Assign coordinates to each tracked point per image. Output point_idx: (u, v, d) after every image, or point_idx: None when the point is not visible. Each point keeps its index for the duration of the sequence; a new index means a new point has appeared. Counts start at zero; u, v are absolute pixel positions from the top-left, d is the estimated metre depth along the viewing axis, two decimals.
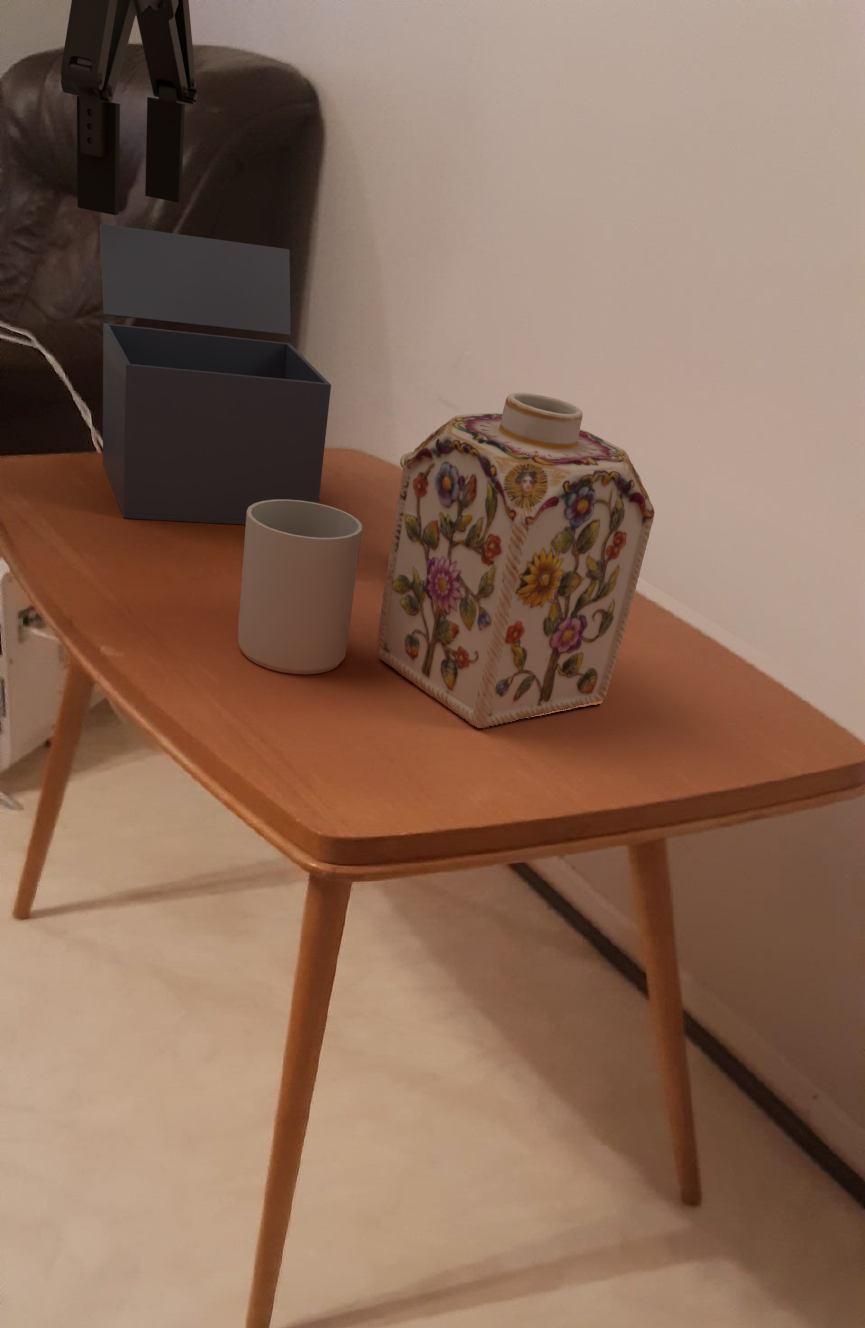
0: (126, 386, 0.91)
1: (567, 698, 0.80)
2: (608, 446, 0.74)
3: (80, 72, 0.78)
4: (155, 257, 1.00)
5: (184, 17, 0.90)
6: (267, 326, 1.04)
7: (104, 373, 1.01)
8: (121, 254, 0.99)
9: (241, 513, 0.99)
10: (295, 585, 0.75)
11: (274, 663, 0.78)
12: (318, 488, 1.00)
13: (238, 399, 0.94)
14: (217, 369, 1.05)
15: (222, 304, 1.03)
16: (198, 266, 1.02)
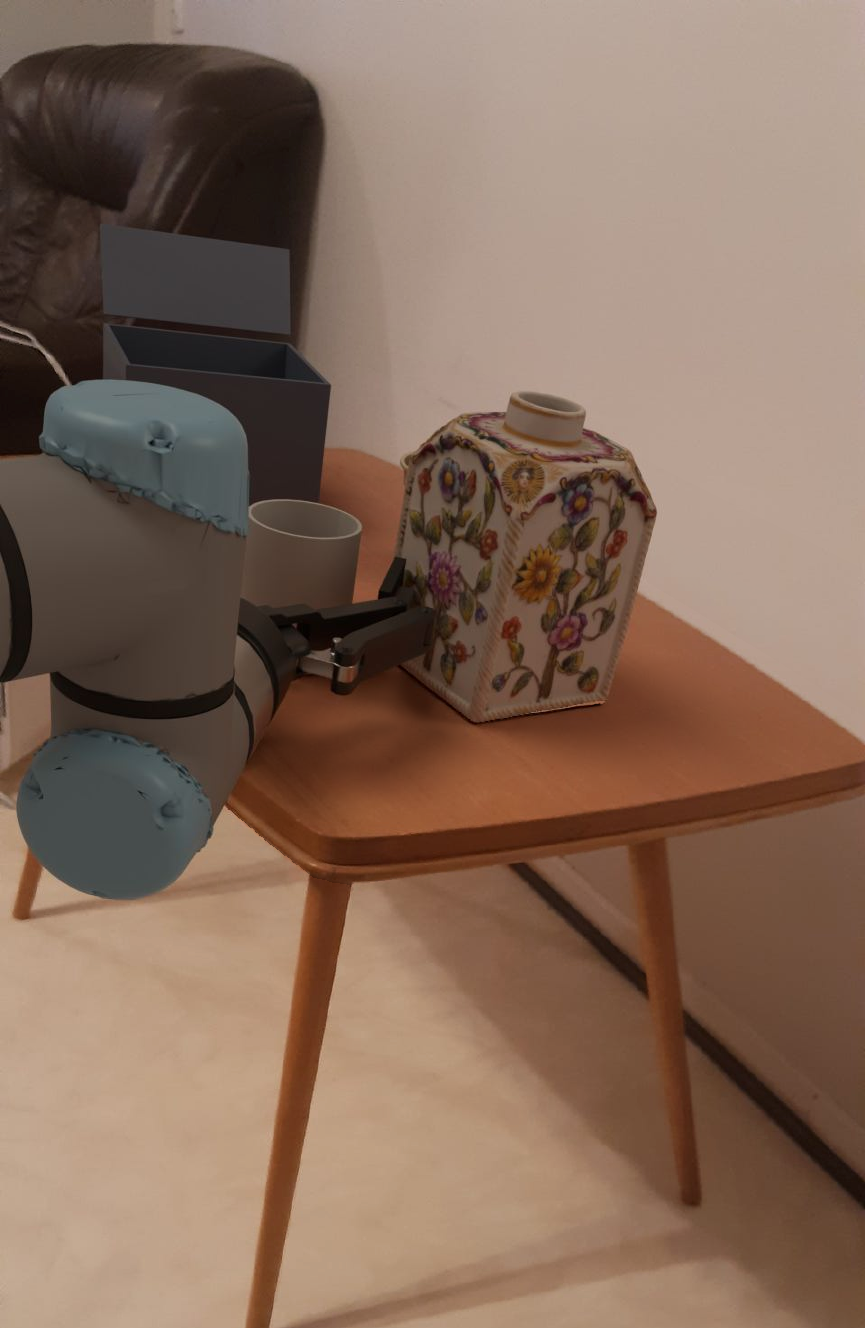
0: None
1: (567, 696, 0.80)
2: (612, 445, 0.75)
3: None
4: (155, 257, 1.00)
5: None
6: (267, 326, 1.04)
7: (104, 373, 1.01)
8: (121, 254, 0.99)
9: None
10: (295, 585, 0.75)
11: None
12: (318, 488, 1.00)
13: (238, 399, 0.94)
14: (217, 369, 1.05)
15: (222, 304, 1.03)
16: (198, 266, 1.02)
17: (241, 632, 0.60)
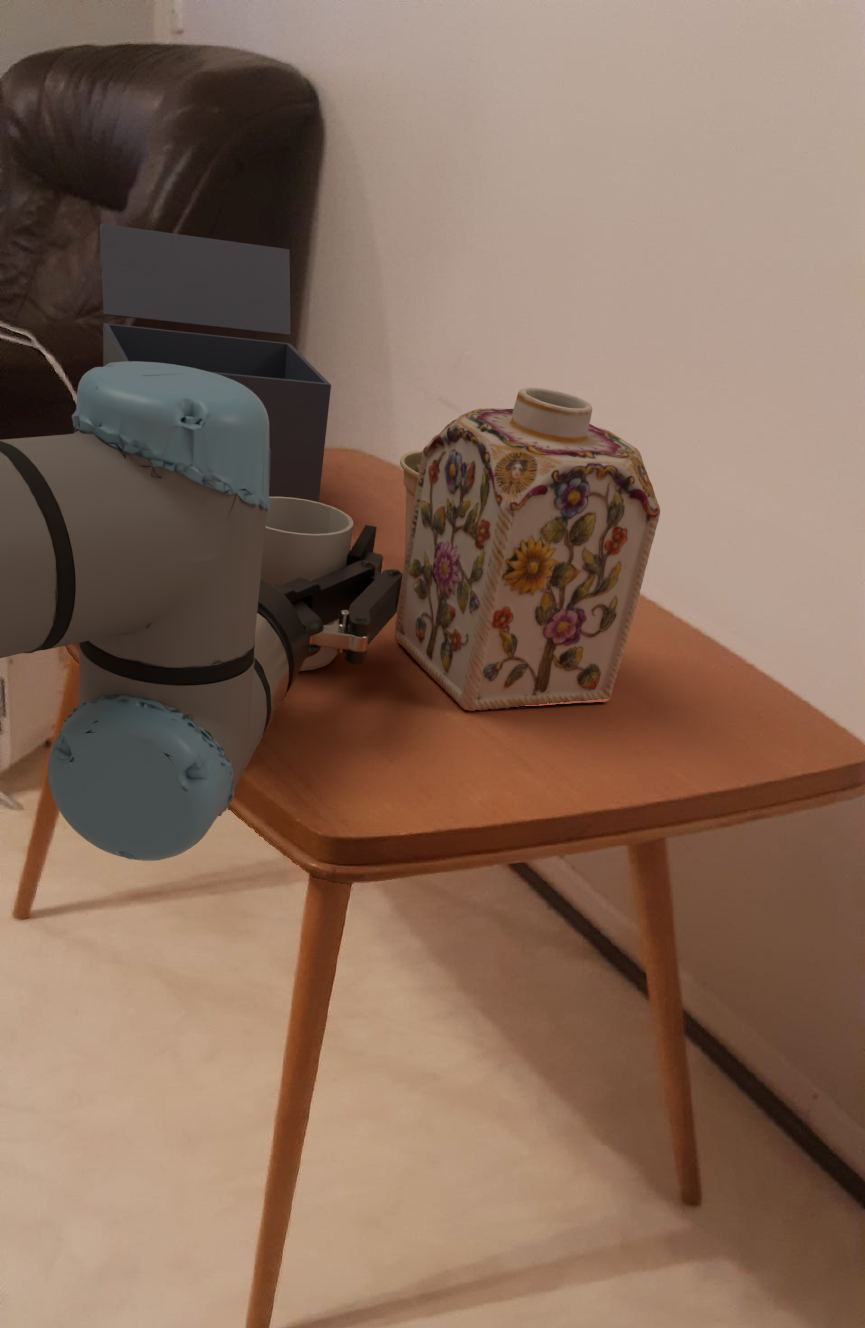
0: None
1: (567, 691, 0.81)
2: (620, 444, 0.75)
3: None
4: (155, 257, 1.00)
5: None
6: (267, 326, 1.04)
7: None
8: (121, 254, 0.99)
9: None
10: (287, 582, 0.75)
11: None
12: (318, 488, 1.00)
13: None
14: (217, 369, 1.05)
15: (222, 304, 1.03)
16: (198, 266, 1.02)
17: (258, 608, 0.62)
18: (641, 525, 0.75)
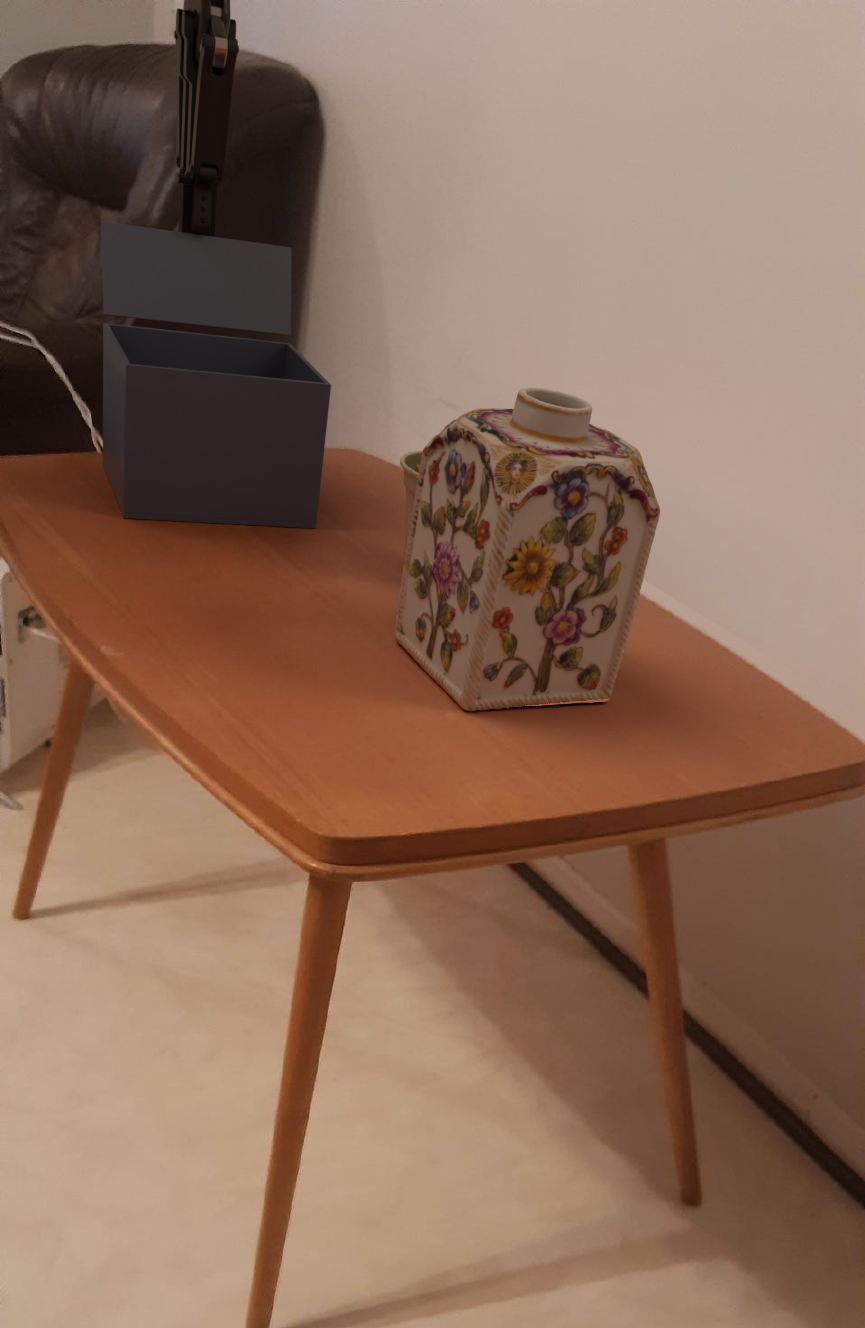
0: (126, 386, 0.91)
1: (567, 691, 0.81)
2: (620, 444, 0.75)
3: None
4: (156, 256, 1.00)
5: (196, 97, 0.93)
6: (267, 326, 1.04)
7: (104, 373, 1.01)
8: (122, 253, 0.99)
9: (241, 513, 0.99)
10: None
11: None
12: (318, 488, 1.00)
13: (238, 399, 0.94)
14: (217, 369, 1.05)
15: (222, 304, 1.03)
16: (199, 265, 1.01)
17: None
18: (641, 525, 0.75)
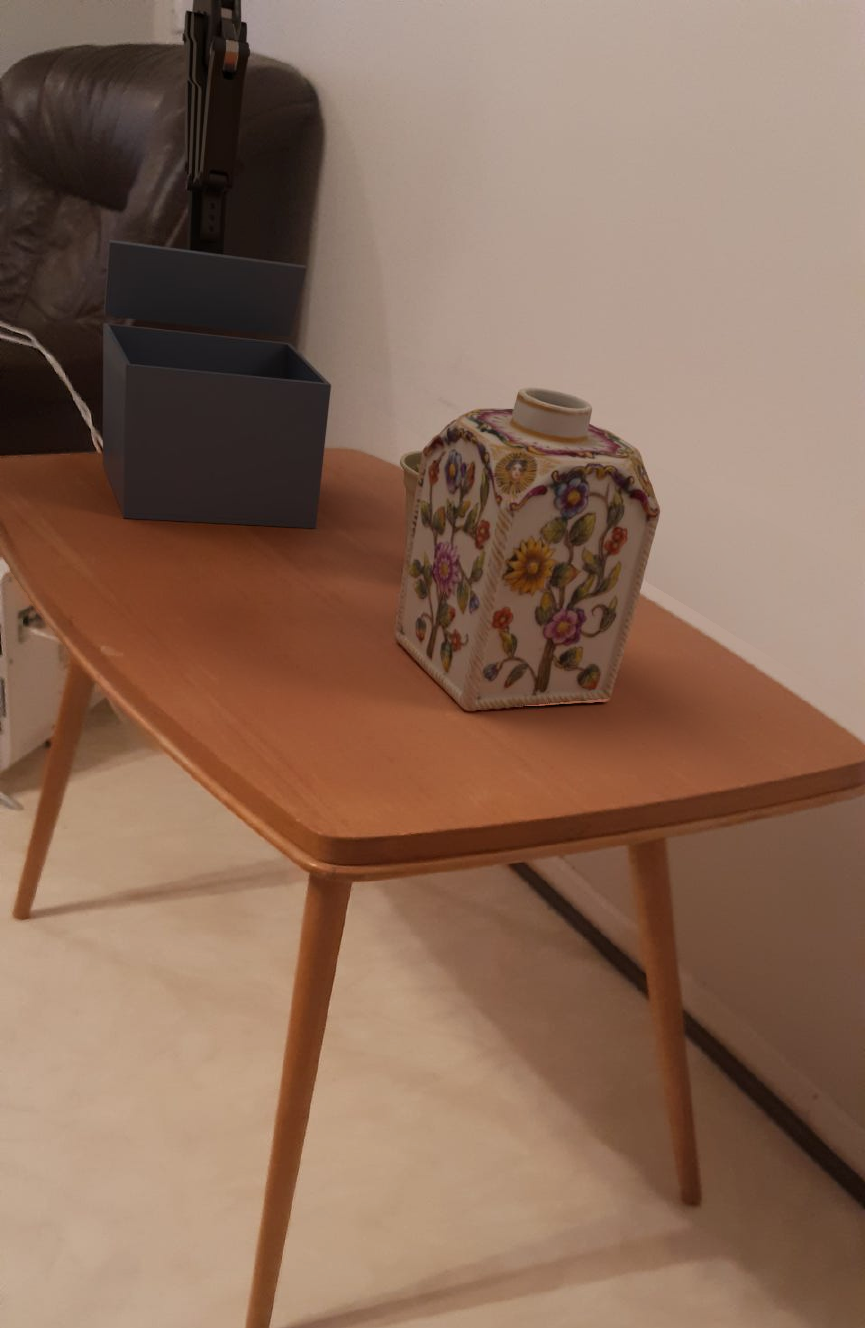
0: (126, 386, 0.91)
1: (567, 691, 0.81)
2: (620, 444, 0.75)
3: None
4: (163, 271, 0.97)
5: (205, 102, 0.90)
6: (268, 329, 1.04)
7: (104, 373, 1.01)
8: (128, 268, 0.96)
9: (241, 513, 0.99)
10: None
11: None
12: (318, 488, 1.00)
13: (238, 399, 0.94)
14: (217, 369, 1.05)
15: (226, 311, 1.02)
16: (207, 280, 0.99)
17: None
18: (641, 525, 0.75)
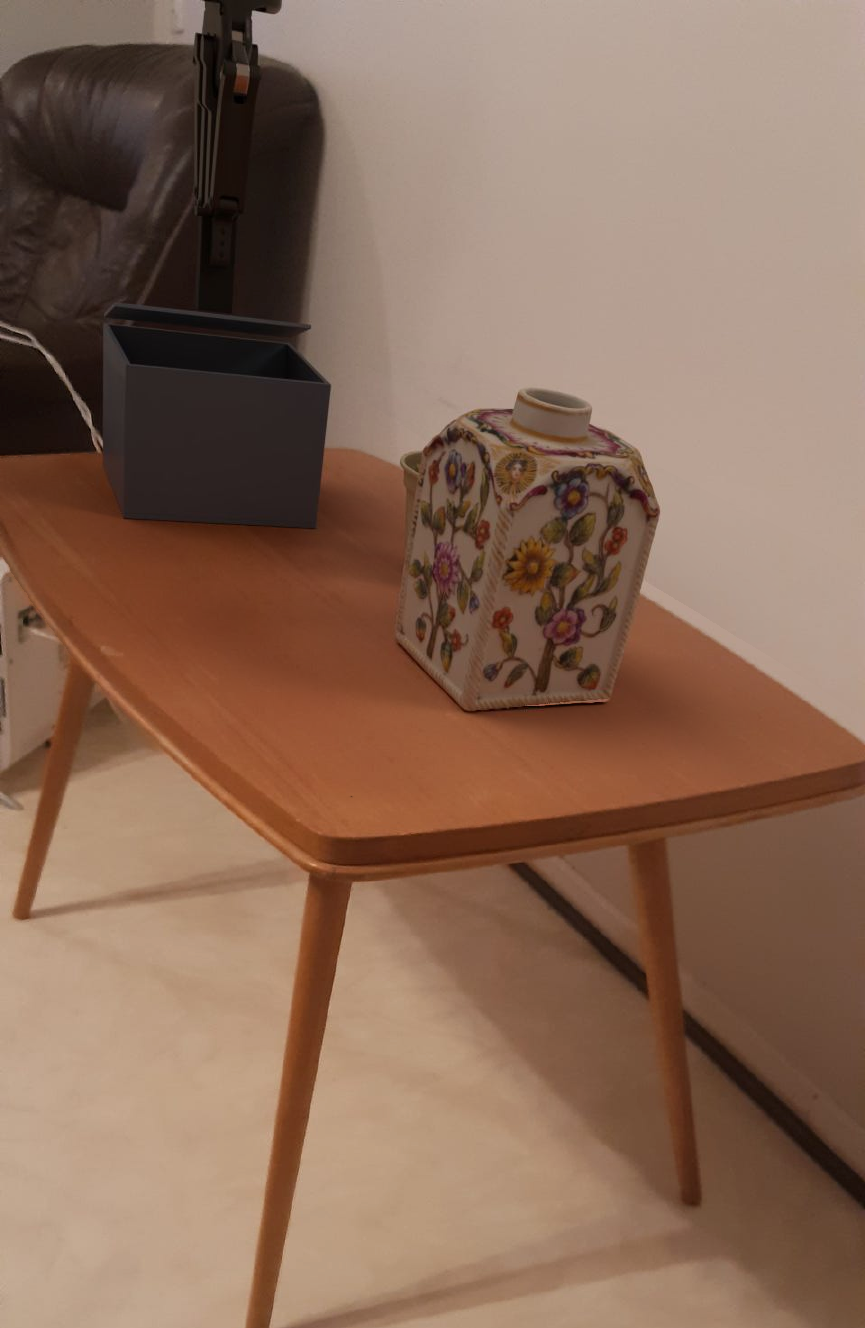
0: (126, 386, 0.91)
1: (567, 691, 0.81)
2: (620, 444, 0.75)
3: None
4: (166, 316, 0.97)
5: (215, 126, 0.87)
6: (268, 334, 1.04)
7: (104, 373, 1.01)
8: (131, 312, 0.96)
9: (241, 513, 0.99)
10: None
11: None
12: (318, 488, 1.00)
13: (238, 399, 0.94)
14: (217, 369, 1.05)
15: (227, 328, 1.02)
16: (210, 321, 0.99)
17: None
18: (641, 525, 0.75)
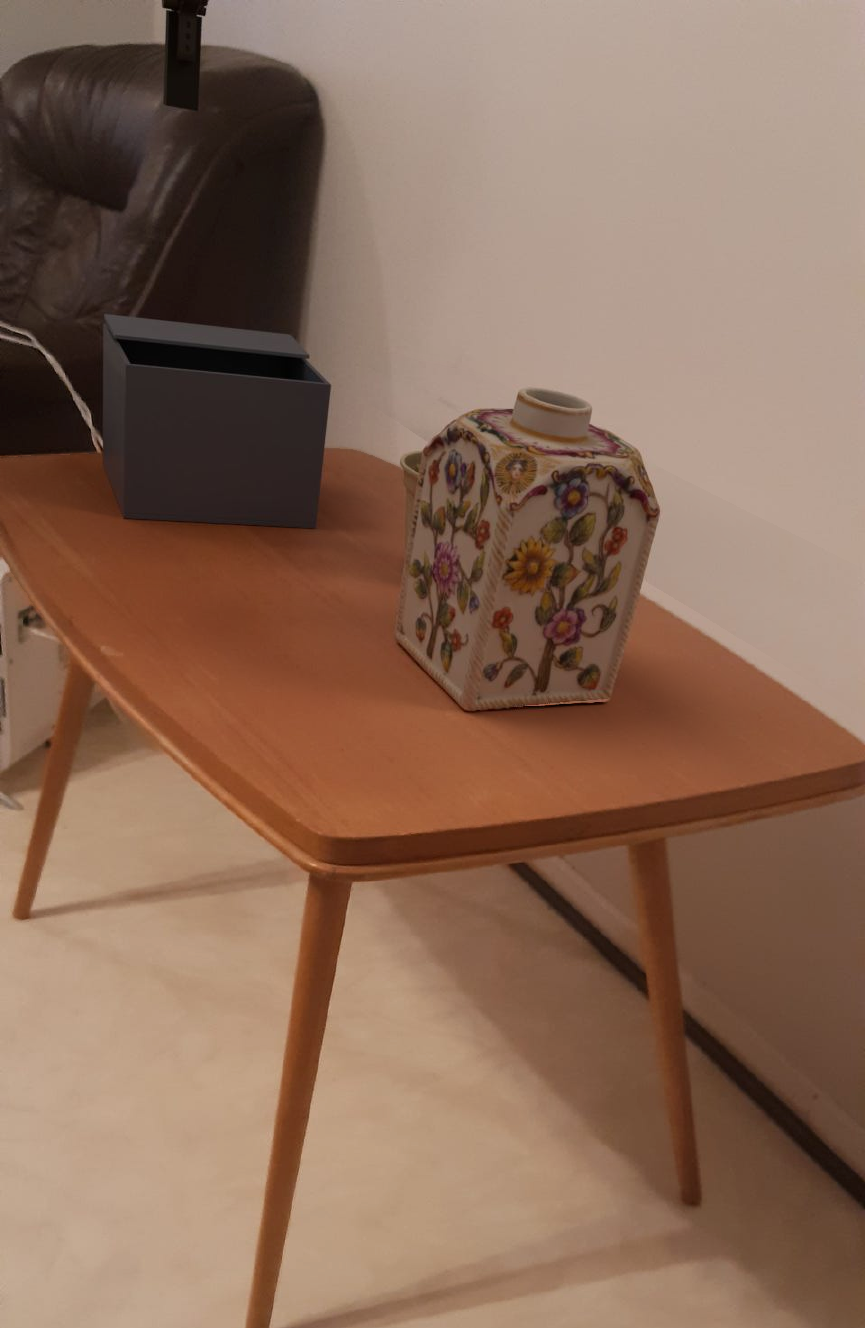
0: (126, 386, 0.91)
1: (567, 691, 0.81)
2: (620, 444, 0.75)
3: None
4: None
5: None
6: None
7: (104, 373, 1.01)
8: None
9: (241, 513, 0.99)
10: None
11: None
12: (318, 488, 1.00)
13: (238, 399, 0.94)
14: (217, 369, 1.05)
15: None
16: None
17: None
18: (641, 525, 0.75)
